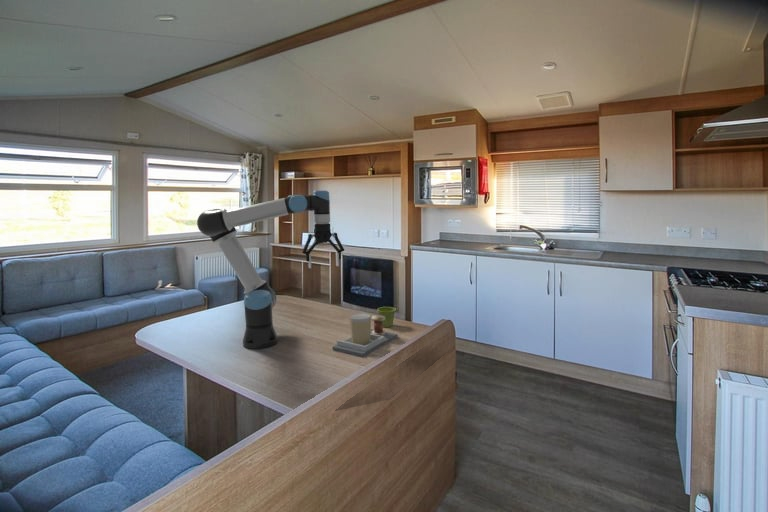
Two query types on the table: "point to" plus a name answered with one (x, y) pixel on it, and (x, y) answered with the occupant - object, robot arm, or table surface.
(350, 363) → the table surface
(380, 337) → the gray board
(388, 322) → the plant pot
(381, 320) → the wooden bobbin
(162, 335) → the table surface
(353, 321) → the coffee cup
